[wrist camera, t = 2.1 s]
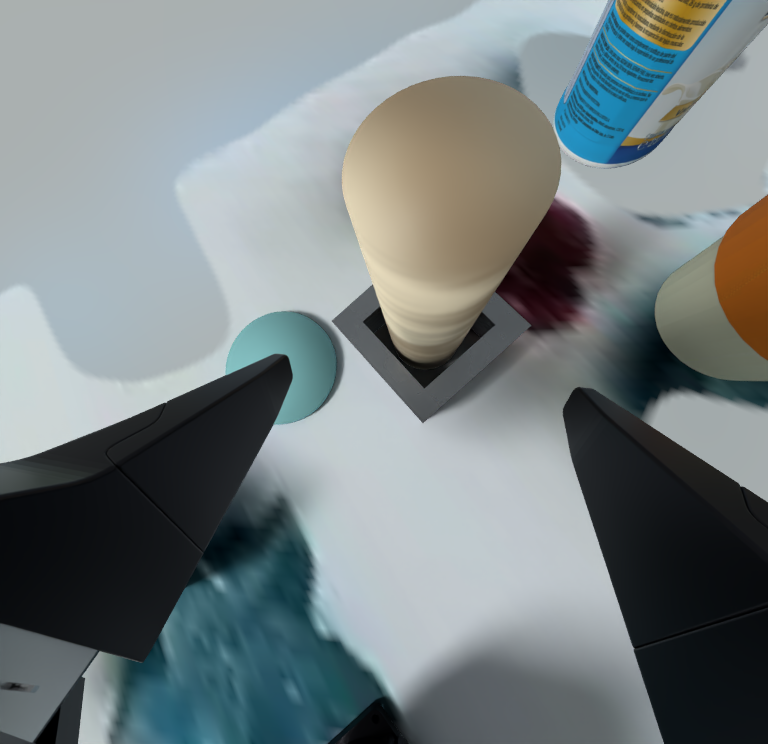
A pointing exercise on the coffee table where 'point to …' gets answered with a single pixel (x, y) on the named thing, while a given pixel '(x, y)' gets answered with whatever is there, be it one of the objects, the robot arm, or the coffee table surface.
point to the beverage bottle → (648, 73)
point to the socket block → (496, 334)
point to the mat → (305, 353)
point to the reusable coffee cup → (722, 303)
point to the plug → (446, 203)
